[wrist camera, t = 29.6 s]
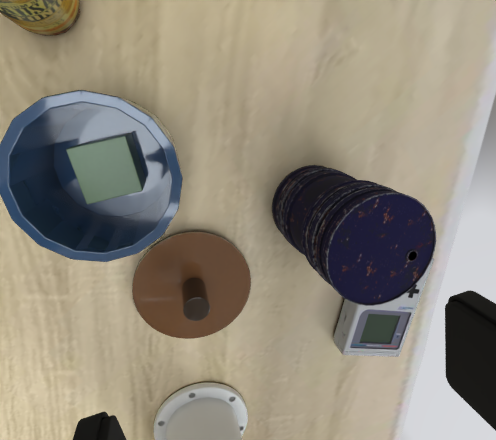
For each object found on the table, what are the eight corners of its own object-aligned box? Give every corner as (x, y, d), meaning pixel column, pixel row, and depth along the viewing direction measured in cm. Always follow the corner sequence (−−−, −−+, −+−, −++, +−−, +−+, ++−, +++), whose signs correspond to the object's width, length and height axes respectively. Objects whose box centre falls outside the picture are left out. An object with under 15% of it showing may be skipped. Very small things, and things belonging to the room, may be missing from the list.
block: (146, 180, 36) (142, 191, 31) (97, 192, 35) (86, 204, 30) (131, 132, 34) (125, 135, 29) (79, 144, 33) (65, 149, 29)
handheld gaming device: (416, 248, 46) (436, 259, 43) (384, 341, 50) (400, 358, 46) (359, 240, 44) (375, 251, 41) (329, 338, 48) (342, 356, 44)
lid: (258, 313, 44) (270, 341, 39) (153, 346, 42) (150, 380, 37) (235, 216, 40) (246, 232, 34) (117, 248, 38) (108, 270, 32)
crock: (191, 205, 38) (198, 237, 28) (74, 235, 36) (39, 280, 26) (158, 86, 34) (154, 74, 24) (25, 113, 32) (-39, 113, 22)
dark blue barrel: (262, 238, 41) (310, 302, 27) (281, 157, 39) (344, 181, 25) (336, 247, 44) (414, 310, 30) (358, 172, 41) (454, 202, 27)
